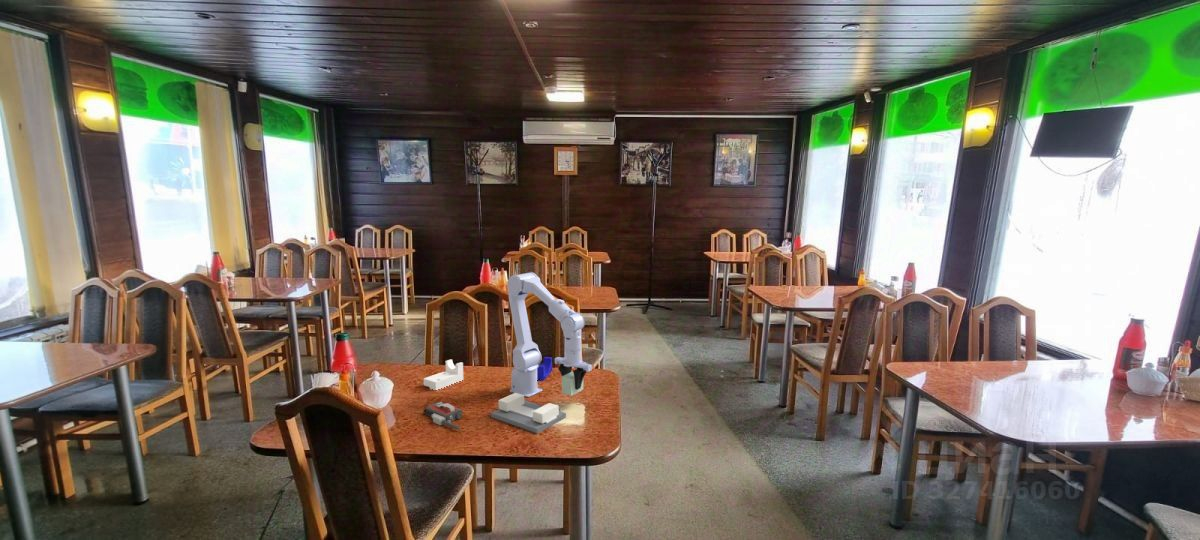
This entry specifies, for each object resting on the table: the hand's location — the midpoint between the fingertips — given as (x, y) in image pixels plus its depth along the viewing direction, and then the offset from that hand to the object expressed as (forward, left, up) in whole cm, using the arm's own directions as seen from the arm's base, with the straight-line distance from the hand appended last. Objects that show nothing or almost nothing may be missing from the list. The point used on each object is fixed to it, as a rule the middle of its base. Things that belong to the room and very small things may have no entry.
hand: (572, 387), depth 172 cm
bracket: (-53, -12, -7) cm, 55 cm away
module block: (0, 0, -2) cm, 2 cm away
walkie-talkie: (-26, -32, -7) cm, 42 cm away
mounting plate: (-6, -16, -7) cm, 18 cm away
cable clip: (-28, +17, -7) cm, 33 cm away
